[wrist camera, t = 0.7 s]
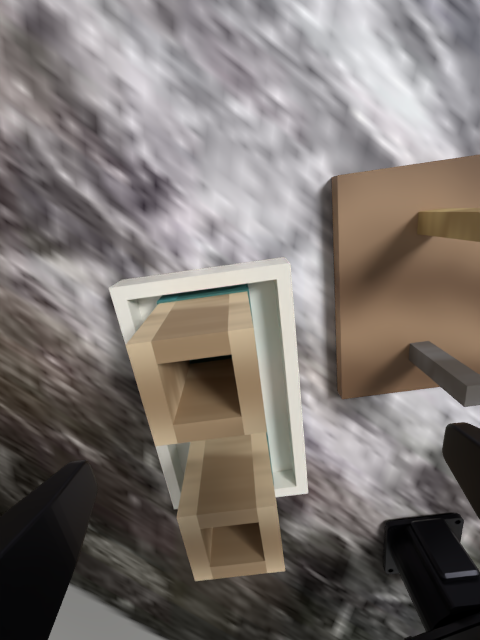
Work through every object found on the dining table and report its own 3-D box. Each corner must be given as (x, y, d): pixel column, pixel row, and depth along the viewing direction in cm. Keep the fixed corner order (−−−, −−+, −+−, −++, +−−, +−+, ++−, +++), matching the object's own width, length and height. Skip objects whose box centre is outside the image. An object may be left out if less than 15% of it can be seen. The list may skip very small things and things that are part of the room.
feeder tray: (302, 470, 24) (308, 493, 22) (178, 484, 24) (174, 509, 22) (284, 257, 18) (290, 262, 16) (122, 279, 18) (108, 288, 16)
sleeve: (271, 468, 23) (287, 572, 16) (205, 476, 23) (193, 582, 17) (264, 413, 21) (278, 503, 15) (192, 422, 21) (174, 516, 15)
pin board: (478, 372, 21) (567, 431, 16) (337, 390, 21) (374, 455, 16) (513, 150, 16) (660, 119, 11) (331, 177, 17) (381, 160, 11)
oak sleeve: (257, 359, 20) (269, 433, 13) (180, 369, 20) (153, 448, 13) (247, 283, 18) (255, 324, 11) (162, 295, 18) (122, 343, 12)
